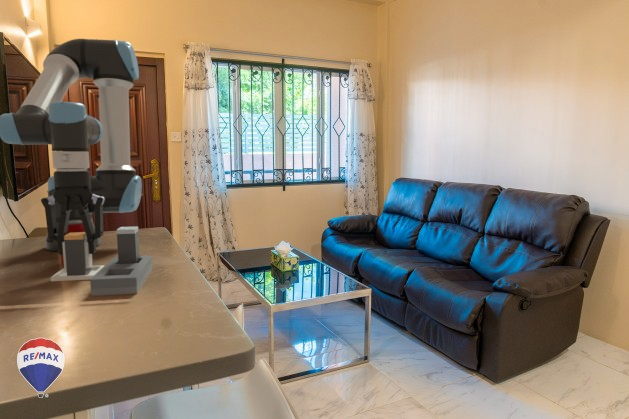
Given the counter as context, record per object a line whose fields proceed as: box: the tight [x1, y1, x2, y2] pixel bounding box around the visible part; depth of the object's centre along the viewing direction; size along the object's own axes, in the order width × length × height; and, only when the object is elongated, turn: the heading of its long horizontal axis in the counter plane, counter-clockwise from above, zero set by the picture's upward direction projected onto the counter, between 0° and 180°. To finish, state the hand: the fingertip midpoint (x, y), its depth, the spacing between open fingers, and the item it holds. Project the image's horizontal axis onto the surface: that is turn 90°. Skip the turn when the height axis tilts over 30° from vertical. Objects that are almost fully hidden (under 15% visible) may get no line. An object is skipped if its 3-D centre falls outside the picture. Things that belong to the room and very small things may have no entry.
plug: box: [64, 232, 91, 276], centre depth 105 cm, size 4×4×10 cm
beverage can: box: [60, 220, 85, 267], centre depth 115 cm, size 7×7×12 cm
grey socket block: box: [89, 254, 154, 297], centre depth 101 cm, size 20×9×4 cm, turn 11°
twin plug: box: [116, 226, 141, 264], centre depth 106 cm, size 4×4×10 cm
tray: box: [50, 264, 106, 282], centre depth 106 cm, size 9×9×2 cm
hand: (78, 267), depth 106 cm, fingers closed on plug, 4 cm apart
